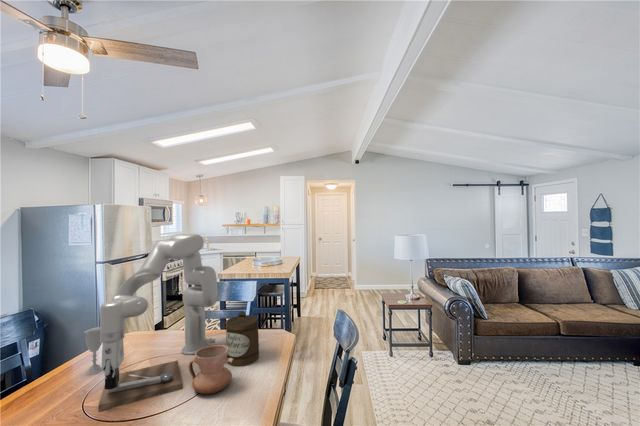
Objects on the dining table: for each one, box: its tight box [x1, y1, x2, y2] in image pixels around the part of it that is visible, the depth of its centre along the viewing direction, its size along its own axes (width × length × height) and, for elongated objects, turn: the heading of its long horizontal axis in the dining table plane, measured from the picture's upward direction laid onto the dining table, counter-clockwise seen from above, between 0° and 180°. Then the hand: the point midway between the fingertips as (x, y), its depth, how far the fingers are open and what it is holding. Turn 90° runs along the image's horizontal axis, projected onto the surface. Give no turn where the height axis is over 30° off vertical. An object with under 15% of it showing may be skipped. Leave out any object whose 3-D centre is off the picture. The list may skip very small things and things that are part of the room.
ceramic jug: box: [188, 344, 233, 395], centre depth 114 cm, size 18×14×14 cm
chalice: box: [83, 326, 103, 376], centre depth 128 cm, size 7×7×18 cm
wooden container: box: [225, 310, 260, 367], centre depth 137 cm, size 15×15×22 cm
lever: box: [107, 367, 173, 393], centre depth 112 cm, size 22×4×8 cm, turn 113°
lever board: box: [97, 359, 183, 412], centre depth 116 cm, size 26×22×2 cm
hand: (112, 384), depth 108 cm, fingers closed on lever, 3 cm apart
